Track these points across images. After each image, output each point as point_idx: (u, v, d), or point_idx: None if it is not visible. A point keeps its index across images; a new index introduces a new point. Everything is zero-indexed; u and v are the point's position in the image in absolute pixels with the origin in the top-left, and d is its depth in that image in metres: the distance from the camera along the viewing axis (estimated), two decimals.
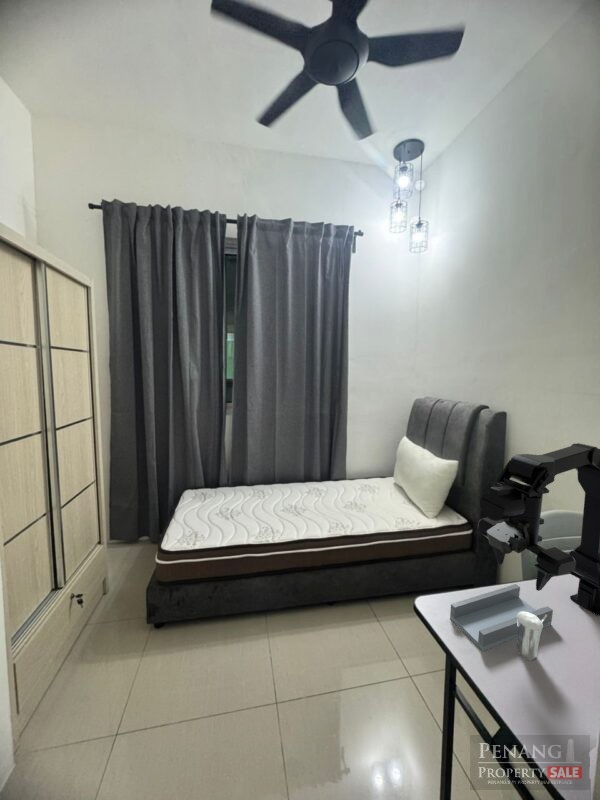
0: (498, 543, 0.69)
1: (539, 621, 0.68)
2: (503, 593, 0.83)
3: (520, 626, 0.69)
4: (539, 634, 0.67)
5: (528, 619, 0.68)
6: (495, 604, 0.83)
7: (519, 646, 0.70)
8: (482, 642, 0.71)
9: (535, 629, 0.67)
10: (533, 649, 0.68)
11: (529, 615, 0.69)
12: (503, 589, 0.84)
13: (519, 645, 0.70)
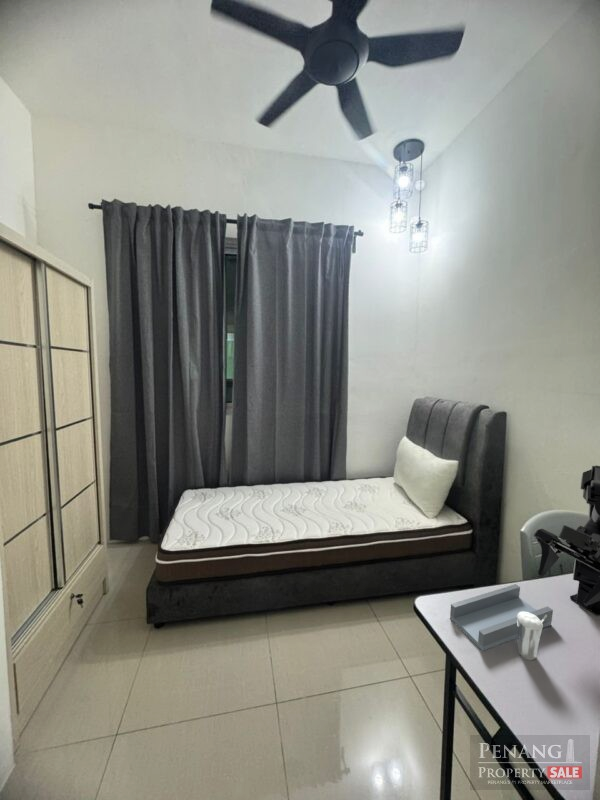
0: (576, 535, 0.69)
1: (539, 621, 0.68)
2: (503, 593, 0.83)
3: (520, 626, 0.69)
4: (539, 634, 0.67)
5: (528, 619, 0.68)
6: (495, 604, 0.83)
7: (519, 646, 0.70)
8: (482, 642, 0.71)
9: (535, 628, 0.67)
10: (533, 649, 0.68)
11: (529, 615, 0.69)
12: (503, 589, 0.84)
13: (519, 645, 0.70)
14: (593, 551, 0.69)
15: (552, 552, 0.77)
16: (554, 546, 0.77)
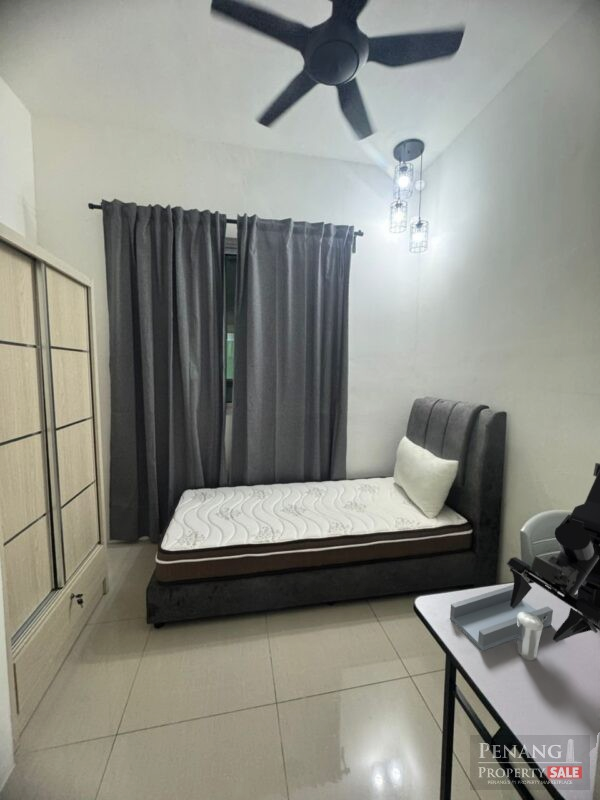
0: (547, 568, 0.67)
1: (539, 621, 0.68)
2: (503, 593, 0.83)
3: (520, 626, 0.69)
4: (539, 634, 0.67)
5: (528, 619, 0.68)
6: (495, 604, 0.83)
7: (519, 646, 0.70)
8: (482, 642, 0.71)
9: (535, 629, 0.67)
10: (533, 649, 0.68)
11: (529, 615, 0.69)
12: (503, 589, 0.84)
13: (519, 645, 0.70)
14: (564, 584, 0.67)
15: (524, 582, 0.74)
16: (526, 576, 0.75)
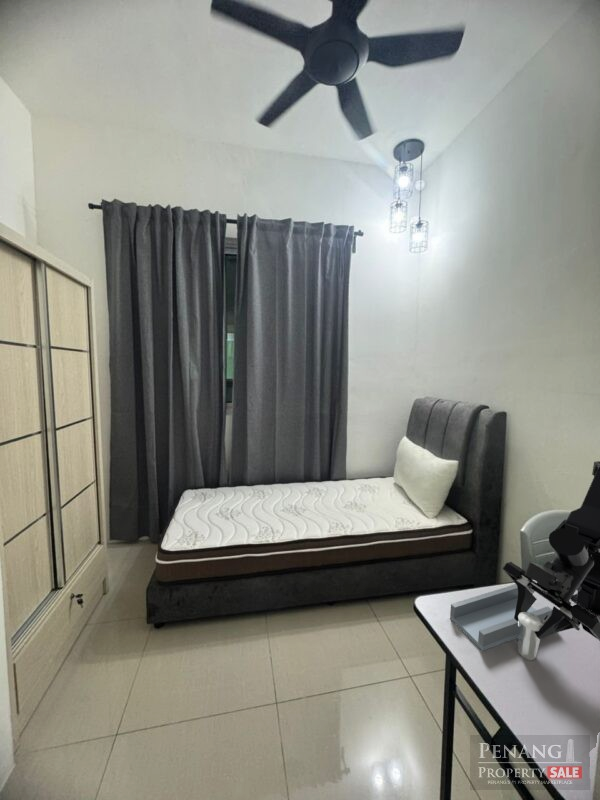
0: (541, 574, 0.67)
1: (540, 622, 0.68)
2: (503, 593, 0.83)
3: (521, 626, 0.69)
4: None
5: (529, 620, 0.68)
6: (495, 604, 0.83)
7: (519, 646, 0.70)
8: (482, 642, 0.71)
9: (536, 629, 0.67)
10: (533, 649, 0.68)
11: (530, 616, 0.69)
12: (503, 589, 0.84)
13: (519, 645, 0.70)
14: (558, 590, 0.67)
15: (529, 594, 0.72)
16: (531, 587, 0.72)
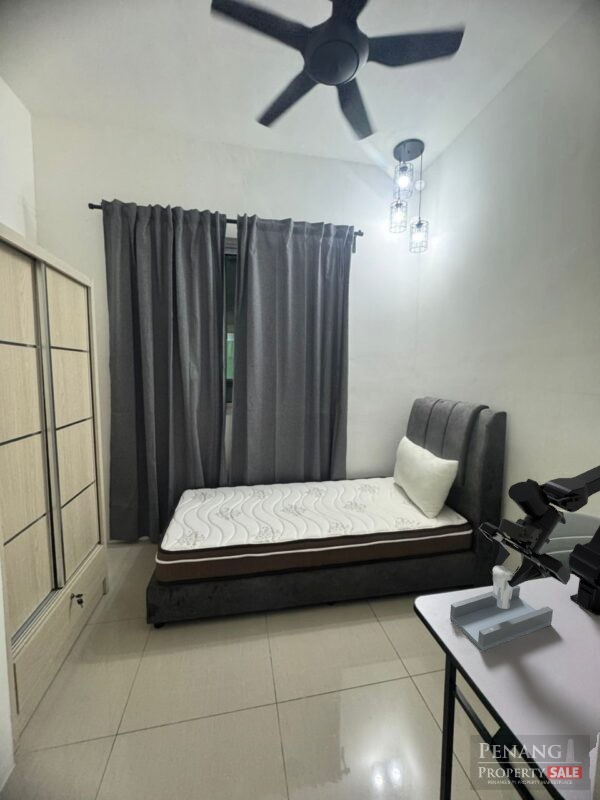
0: (512, 527, 0.72)
1: (512, 572, 0.74)
2: None
3: (495, 578, 0.74)
4: None
5: (502, 571, 0.74)
6: None
7: (494, 597, 0.75)
8: (482, 642, 0.71)
9: (508, 579, 0.72)
10: (507, 598, 0.73)
11: (503, 568, 0.75)
12: None
13: (494, 596, 0.75)
14: (528, 542, 0.73)
15: (503, 549, 0.78)
16: (505, 543, 0.78)
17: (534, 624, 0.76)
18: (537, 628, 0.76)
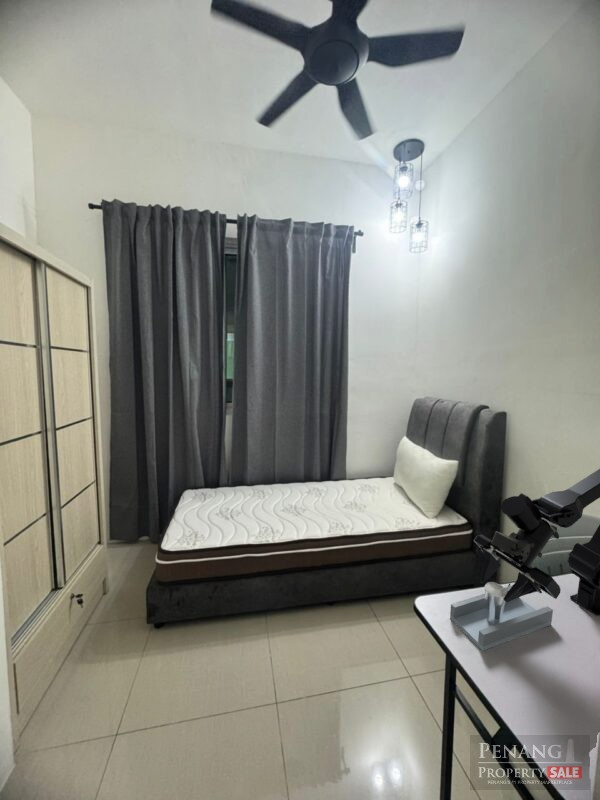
0: (505, 541, 0.74)
1: (503, 589, 0.76)
2: None
3: (487, 594, 0.77)
4: (503, 601, 0.75)
5: (493, 588, 0.76)
6: None
7: (487, 613, 0.78)
8: (482, 642, 0.71)
9: (499, 595, 0.75)
10: (499, 615, 0.76)
11: (495, 585, 0.77)
12: None
13: (487, 612, 0.78)
14: (520, 556, 0.75)
15: (493, 560, 0.81)
16: (495, 554, 0.81)
17: (534, 624, 0.76)
18: (537, 628, 0.76)
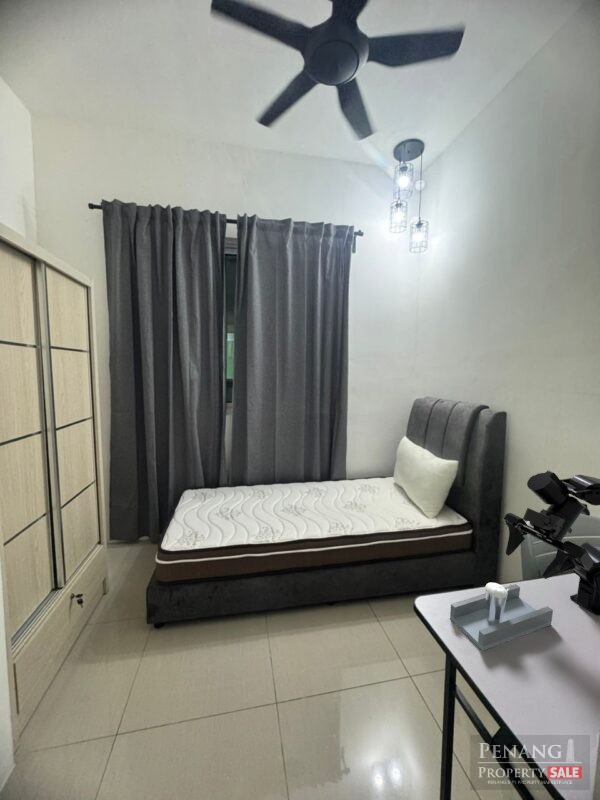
0: (537, 516, 0.77)
1: (504, 590, 0.76)
2: None
3: (488, 595, 0.77)
4: (504, 601, 0.75)
5: (494, 589, 0.76)
6: None
7: (487, 613, 0.78)
8: (482, 642, 0.71)
9: (500, 596, 0.75)
10: (499, 615, 0.76)
11: (495, 585, 0.77)
12: None
13: (487, 612, 0.78)
14: (552, 531, 0.77)
15: (518, 533, 0.84)
16: (520, 528, 0.85)
17: (534, 624, 0.76)
18: (537, 628, 0.76)
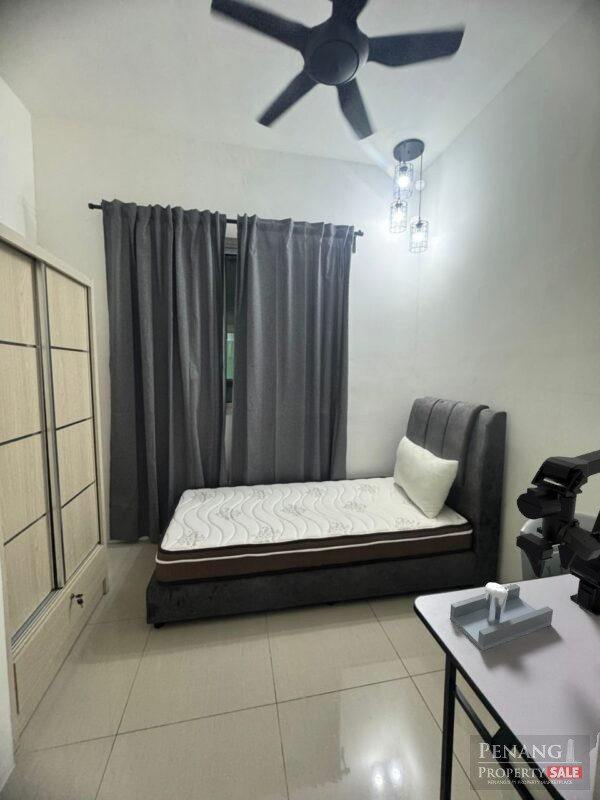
0: None
1: (504, 590, 0.76)
2: None
3: (488, 595, 0.77)
4: (504, 601, 0.75)
5: (494, 589, 0.76)
6: None
7: (487, 613, 0.78)
8: (482, 642, 0.71)
9: (500, 596, 0.75)
10: (499, 615, 0.76)
11: (495, 585, 0.77)
12: None
13: (487, 612, 0.78)
14: None
15: None
16: None
17: (534, 624, 0.76)
18: (537, 628, 0.76)
